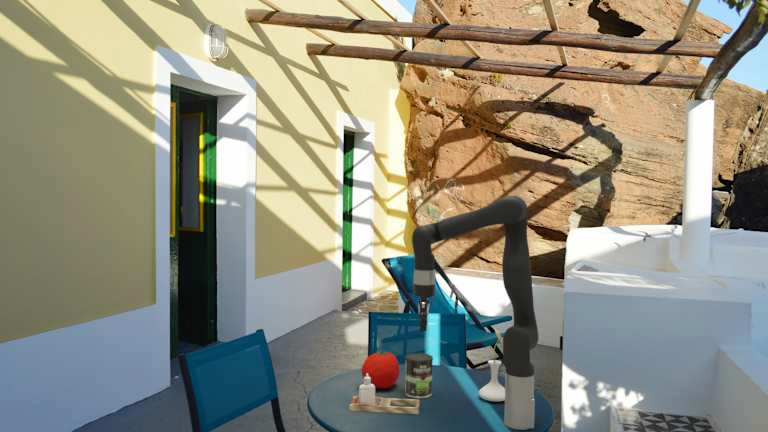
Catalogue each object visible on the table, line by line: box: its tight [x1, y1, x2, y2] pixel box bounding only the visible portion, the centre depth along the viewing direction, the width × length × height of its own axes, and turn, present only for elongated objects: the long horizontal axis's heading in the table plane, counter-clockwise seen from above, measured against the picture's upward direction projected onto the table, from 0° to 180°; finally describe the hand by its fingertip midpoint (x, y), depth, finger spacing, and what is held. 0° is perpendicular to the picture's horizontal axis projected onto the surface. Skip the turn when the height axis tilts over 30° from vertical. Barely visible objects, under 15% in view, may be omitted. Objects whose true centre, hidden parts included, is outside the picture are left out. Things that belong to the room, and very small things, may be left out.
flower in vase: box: [477, 329, 505, 402], centre depth 224 cm, size 13×11×25 cm
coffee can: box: [404, 352, 434, 399], centre depth 228 cm, size 10×10×14 cm
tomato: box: [361, 348, 401, 389], centre depth 234 cm, size 16×14×14 cm
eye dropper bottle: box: [358, 373, 376, 404], centre depth 214 cm, size 4×6×12 cm
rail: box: [348, 395, 421, 415], centre depth 213 cm, size 24×8×2 cm, turn 84°
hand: (423, 328), depth 214 cm, fingers open, 8 cm apart
